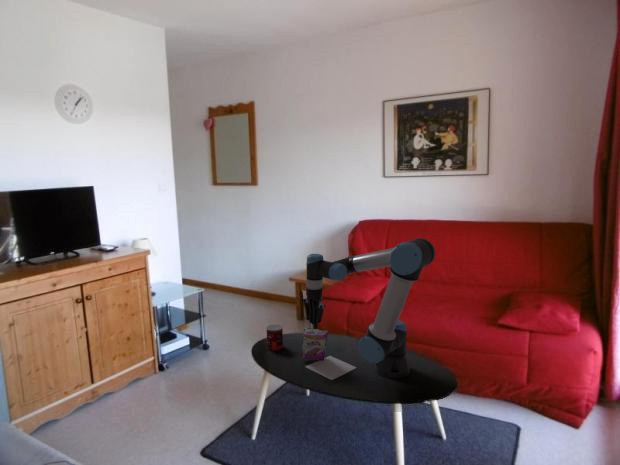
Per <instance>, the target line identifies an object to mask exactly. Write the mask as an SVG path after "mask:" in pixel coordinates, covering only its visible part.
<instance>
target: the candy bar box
mask: <svg viewBox="0 0 620 465" xmlns="http://www.w3.org/2000/svg"><path fill="white" fill-rule="evenodd" d="M328 333H329V332H328V330H324V329H318V328H317V329H311V328H310V327H303V333H302V339H301V341H302V343H301V351H300V352H301V355H300V358H301V359H307V360H308V359H309V360H316V361H319V360H322V361H324V358H326V357H325V356H326V348H327V340H328Z"/></svg>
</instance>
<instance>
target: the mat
mask: <svg viewBox="0 0 620 465" xmlns="http://www.w3.org/2000/svg"><path fill="white" fill-rule="evenodd" d="M304 368H306V369H308V370H310V371H312V372H314V373H316V374H318V375H320V376H323V377H324V378H326V379H328V380H330V381H334V380H335V379H337V378H338V379H339V377H342V376H345V375H346V374H348V373H350V372H352V371H354V370H356V369H357V367H356V366H355V365H352V364H350V363H347V362H345V361H343V360H341V359H339V358H336V357H333V356H332V355H329V356H327V357H324V361H322V360H316V361H315V362H313V363H310V364H307V365H305V367H304Z"/></svg>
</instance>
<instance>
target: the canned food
mask: <svg viewBox="0 0 620 465" xmlns="http://www.w3.org/2000/svg"><path fill="white" fill-rule="evenodd" d="M283 332H284V330H283V326H282V325H279V324H271V325H268V326H266V347H267V349H268V350H269V351H271V350H272V352H276V351H277V350H278V351H281V350H282V349H283V347H284V343H283V342H284V339H283V338H284V333H283ZM280 349H281V350H280ZM278 351H277V352H278Z"/></svg>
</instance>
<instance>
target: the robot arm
mask: <svg viewBox="0 0 620 465" xmlns="http://www.w3.org/2000/svg"><path fill="white" fill-rule="evenodd" d="M435 257H436V248H435V246H434V244H433V243H432V242H431V241H430V240H428V239H427V238H422V237H421V238H420V237H419V238H414V239H411V240H409V241H403V242H401V243H398V244H397V245H396V246H394V247H391V248H386V249H382V250H376V251H372V252H368V253H362V254H358V255H350V256H347V257H345V258H342V259H338V260H335V261H328V260H324V255H323V254H320V253H310V254H308V255H307V256H306V264H305V265H306V279H305V280H306V282H305V286H306V289H305V294H306V298H305V299H302V301H303V304H304V309H305V318H306V320H307V321H309V328H311V329H318V326H319V325H318V324H320V323H322V319H323V315H324V314H323V313H324V311H325V310H324V309H325V308H326V304H323V303H322V302H323V300H322V297H323V286H324V284H323V280H324V279H329V280H332V281H336V282H337V281H338V282H342V281H344V279H346V277H347V276H348V275H350V274H355V273H360V272H367V271H370V270H377V269H383V268H389V272H390V273H391V276H390V278H389V281H388V284H387V287H386V289H385V292H384V294H383V298H382V300H381V303H380V305H379V309H378V311H377V314H376V316H375V317H376V318H375V319H374V322H371V323H370V324H369V326H368V328H367V331H366V334H365V335H364V336H362V337H361V338H360V339H359V342H358V350H359V352H360V355H361V356H362V357H363V359H364V360H365V361H367V362H369V363H371V364H375V367H374V368H375V372H376V373H377V374H378V375H380V376H382V377H384V378H388V379H389V378H390V379H401V378H405V377H407V376H409V374H410V373H411V368H410V367H411V366H410V364H409V361H408V357H407V339H408V338H407V336H408V335H407V333H408V330H407V328H408V327H407V324H406V323H405V322H404V321H402V320H399V319H400V317H401V313H402V311H403V309H404V306H405V304H406V300H407V298H408V296H409V293H410V291H411V287H412V286H413V283H415V282H417V281H419V279H420V276H421V273H422V271H423V269H424V268H426V267H427V266H429V265H431V264H432V262H434V260H435Z"/></svg>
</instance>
